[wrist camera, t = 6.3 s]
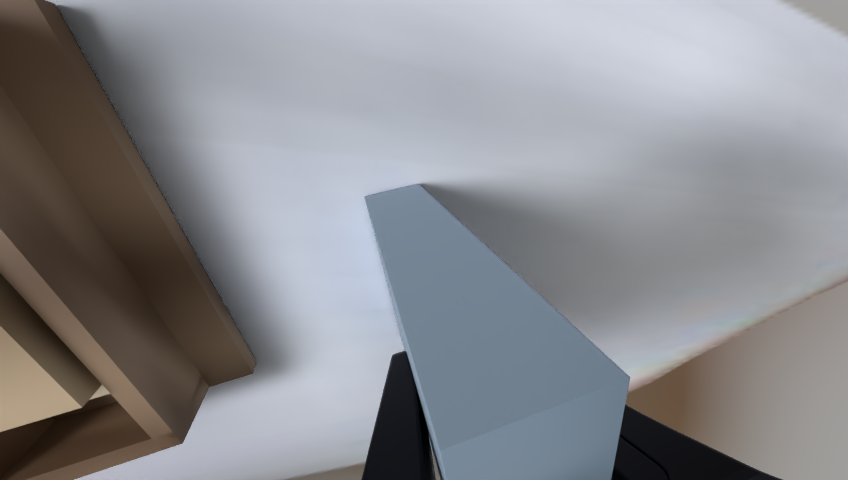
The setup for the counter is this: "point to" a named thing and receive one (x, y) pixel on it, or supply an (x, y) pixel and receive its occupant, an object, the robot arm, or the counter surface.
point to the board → (492, 355)
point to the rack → (98, 262)
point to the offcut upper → (36, 366)
